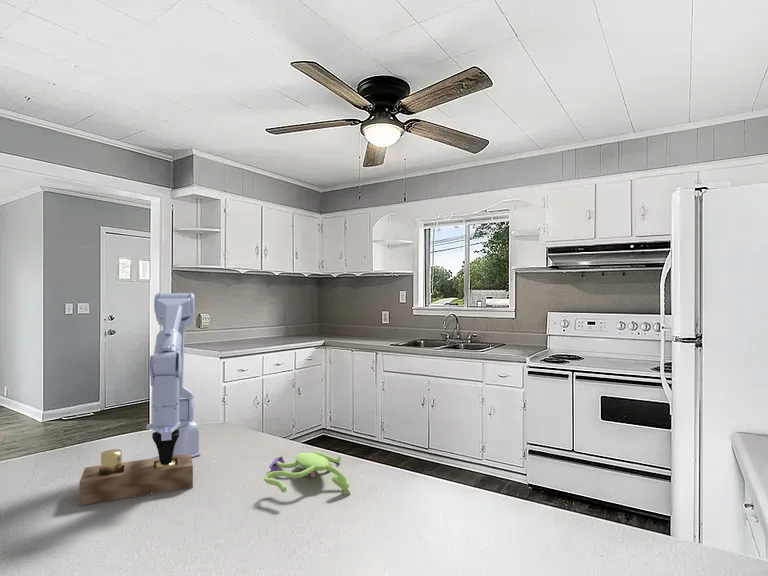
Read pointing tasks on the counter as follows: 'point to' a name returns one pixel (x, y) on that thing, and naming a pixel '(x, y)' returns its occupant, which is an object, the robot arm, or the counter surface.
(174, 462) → the peg
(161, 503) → the counter surface
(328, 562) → the counter surface
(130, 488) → the block
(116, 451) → the peg
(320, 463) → the figurine
